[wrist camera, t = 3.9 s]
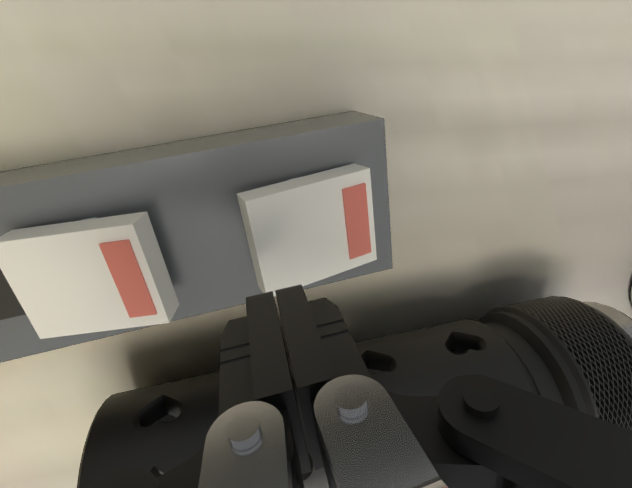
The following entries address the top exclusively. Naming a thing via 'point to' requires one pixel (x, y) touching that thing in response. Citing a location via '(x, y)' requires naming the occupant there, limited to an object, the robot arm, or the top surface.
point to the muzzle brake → (397, 380)
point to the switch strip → (190, 207)
